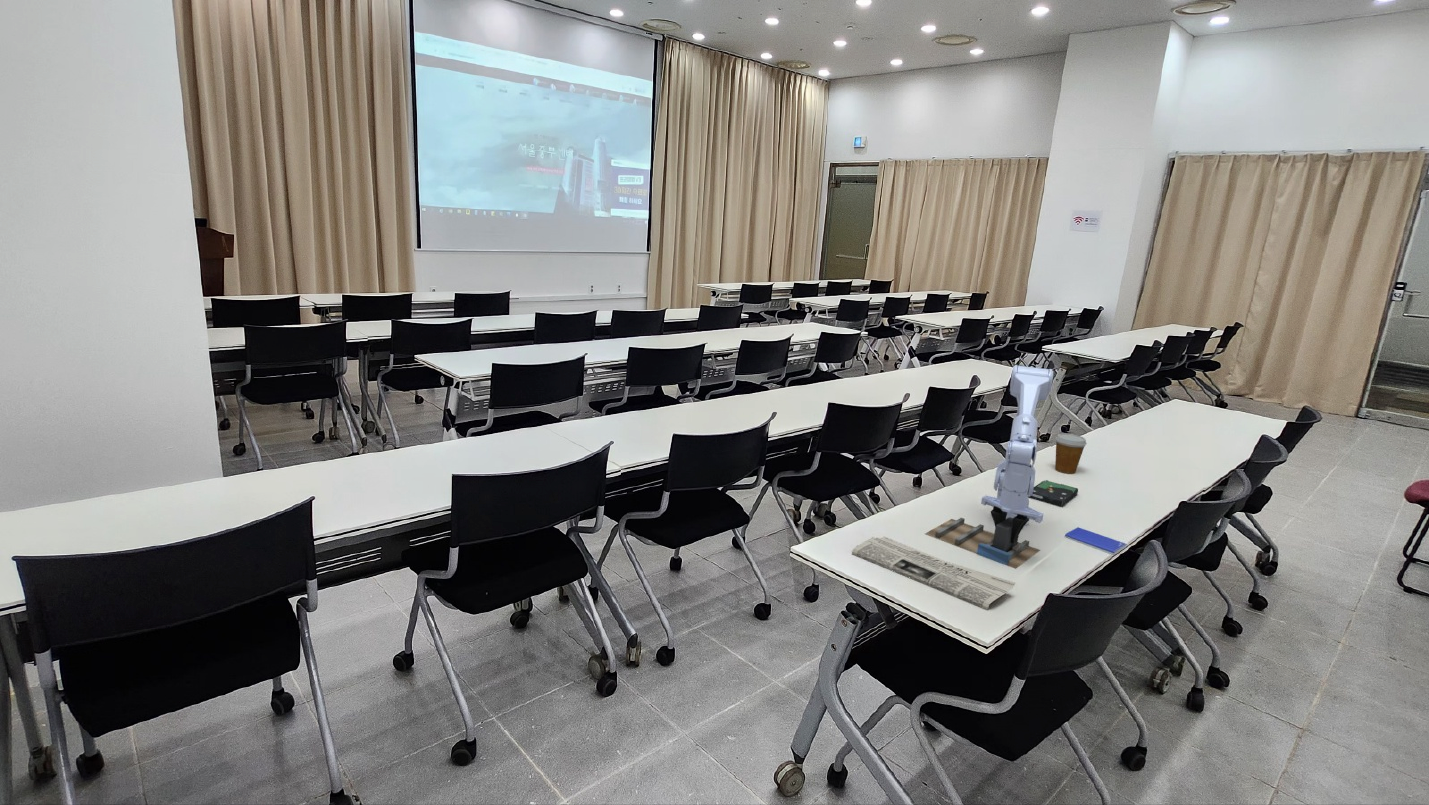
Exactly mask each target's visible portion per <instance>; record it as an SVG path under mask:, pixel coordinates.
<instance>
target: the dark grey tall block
mask: <svg viewBox="0 0 1429 805" xmlns="http://www.w3.org/2000/svg"><path fill="white" fill-rule="evenodd" d="M1012 530H1013V518H1011V517H1009V518H1007V519H1005V520H1004V521H1002V522H1001V523H999V524H997V525H996V527H995V528H994V539H993V545H992V547H994V548H997V549H999V550H1002V551H1005V552H1007V553H1008V552H1009V551H1010V550H1012V549H1013V546H1015V545H1017V543H1018V542H1019V536H1020V535H1019V536H1018V538H1017V541H1016V542H1015V543H1011V535H1012Z"/></svg>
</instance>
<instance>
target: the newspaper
mask: <svg viewBox="0 0 1429 805" xmlns="http://www.w3.org/2000/svg"><path fill="white" fill-rule="evenodd" d="M851 555H853V556H856V557H858V558H861V559H863V560H866V561H867V562H871V563H873V564H874V565H877V566H880V567H882V568H885V569H887V570H889V569H890V570H889V571H892V570H893V571H892V572H894V571H895V573H897V574H899V573H900V575H901V574H902V576H905V577H906V578H909V577H910V579H912V580H913V579H914V581H916V582H918V583H921V584H923V585H925V586H928V587H930V588H932V589H935V590H939V591H940V592H943V593H945V594H948V595H949V596H952V597H955V598H958V599H960V600H962V601H965V602H967V603H969V604H972V605H974V606H977V607H979V608H982V609H983V610H987V611H988V610H989V606H990V605H991V603H993V602H994V601H996V600H997V599H999V598H1001V597H1002V596H1003V595H1004V596H1005V595H1006V593H1008V592H1010V591H1011V590H1012V589H1013V588H1014V586H1016V582H1013V581H1011V580H1007V579H1004V578H1001V577H997V576H994V575H991V574H988V573H985V572H981V571H979V570H975V569H972V568H968V567H965V566H963V565H959V564H956V563H952V562H950V561H945V560H944V559H941V558H938V557H935V556H934V555H931V554H928V553H927V552H924V551H921V550H919V549H917V548H914V547H911V546H908V545H906V544H903V543H902V542H898V541H896V540H894V539H892V538H889V537H886V536H882V537H874V536H872V537H871V538H868V539H867V540H865V541H863V542H862V543H861V544H859V545H857V546H855V547H853V548H852V550H851Z"/></svg>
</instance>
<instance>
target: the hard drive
mask: <svg viewBox="0 0 1429 805" xmlns="http://www.w3.org/2000/svg"><path fill="white" fill-rule="evenodd" d="M1064 538H1065V539H1068V540H1071V541H1073V542H1076V543H1079V544H1082V545H1085V546H1087V547H1090V548H1092V549H1095V550H1098V551H1101V552H1104V553H1107V554H1108V555H1111V556H1115V555H1116V554H1118V553H1119V552H1121V551H1123V550H1124V549H1125V548H1127V546H1128V544H1127V543H1125V542H1123V541H1122V542H1121V541H1119V540H1117V539H1114V538H1112V537H1107V536H1104V535H1102V534H1099V533H1096V532H1093V531H1090V530H1087V529H1085V528H1081V527H1079V526H1077V527H1075V528H1074V529H1072V530H1070V531H1068V532H1067V533H1065V535H1064Z"/></svg>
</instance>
